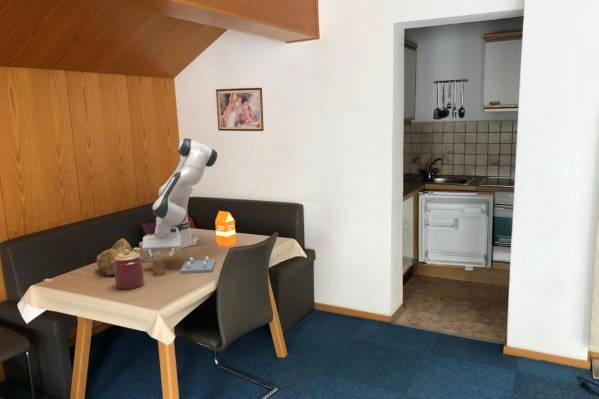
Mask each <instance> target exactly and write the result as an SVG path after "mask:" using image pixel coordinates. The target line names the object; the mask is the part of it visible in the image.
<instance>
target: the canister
mask: <svg viewBox="0 0 599 399" xmlns="http://www.w3.org/2000/svg"><path fill="white" fill-rule="evenodd" d="M142 262H143V259H142V257H140V254H139V253H138V252H136V251H133V252H130V251H129V250H128V249H126V250H124V252H123V253H120V254H118V255H117V256H116V257H115V261H114V262H113V264H114V265H115V269H114V272H115V275H114V280H115V282H114V283H115V286H116V288H117V289H119V290H132V289H136V288H139V287H141V286H143V285H144V284H145V278H144V271H143V265H142Z"/></svg>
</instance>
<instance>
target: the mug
mask: <svg viewBox="0 0 599 399" xmlns="http://www.w3.org/2000/svg"><path fill="white" fill-rule="evenodd" d="M142 243H143V241H140V242H139V243H138V246H139V250H140V254H141V259H142V262H153V259H154V258H155V256H158V255H159V254H161V252H162V251H157V253H155V252H156V251H152V253H151V254H153V255H154V258H150V253H149V251H146V252H145V251H143V249H142Z"/></svg>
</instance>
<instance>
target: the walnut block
mask: <svg viewBox="0 0 599 399" xmlns="http://www.w3.org/2000/svg"><path fill="white" fill-rule="evenodd" d="M164 258H165V257H164V256H162V257H154V259H153V261H152V267H153V270H152V271H153V276H154V277H155V276H157V277H158V276H164V275H165V274H166V268H165V259H164Z"/></svg>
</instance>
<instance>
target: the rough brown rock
mask: <svg viewBox="0 0 599 399" xmlns="http://www.w3.org/2000/svg"><path fill="white" fill-rule="evenodd" d="M126 249H128V250H129V251H130V252H134V251H133V249H132V246H131V245H130V243H129V241H127V240H126V239H125V238H123V237H122V238H120V239H119V240H118V241H115V242H114V244H113V245H112V246H111V247H110V248H109V249H106V250H104V251H102V252H101V253H99V254H98V255H97V256H96V264H97V267H98V270H100V273H101V274H102V275H103V276H115V272H114V269H115V265H114V264H113V262H114V261H115V257H116V256H117V255H118V254H120V253H123V252H124V250H126Z"/></svg>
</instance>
